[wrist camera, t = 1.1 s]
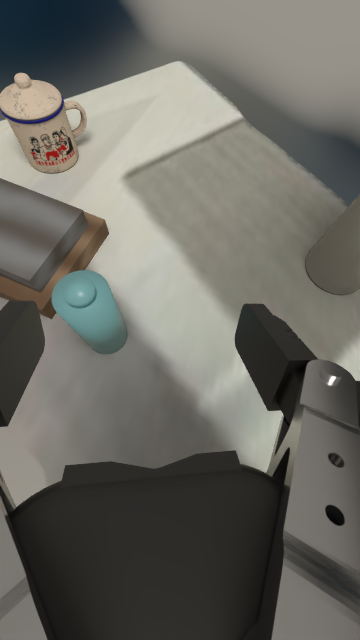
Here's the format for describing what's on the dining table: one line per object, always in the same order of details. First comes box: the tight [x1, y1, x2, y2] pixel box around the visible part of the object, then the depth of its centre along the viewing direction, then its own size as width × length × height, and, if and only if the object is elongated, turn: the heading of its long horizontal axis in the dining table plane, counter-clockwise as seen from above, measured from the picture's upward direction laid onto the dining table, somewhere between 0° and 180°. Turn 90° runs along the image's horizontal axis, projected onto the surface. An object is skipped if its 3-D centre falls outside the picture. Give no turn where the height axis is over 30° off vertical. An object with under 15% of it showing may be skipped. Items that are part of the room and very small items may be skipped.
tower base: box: [0, 178, 109, 319], centre depth 36 cm, size 16×16×6 cm
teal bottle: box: [52, 270, 127, 354], centre depth 28 cm, size 5×5×13 cm
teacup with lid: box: [0, 73, 87, 173], centre depth 41 cm, size 12×9×12 cm
